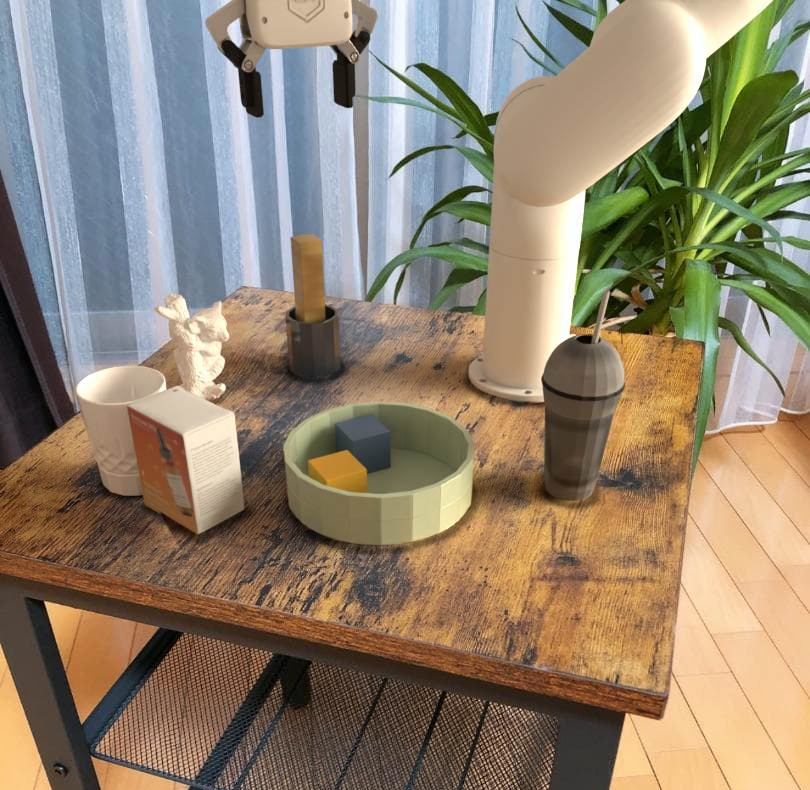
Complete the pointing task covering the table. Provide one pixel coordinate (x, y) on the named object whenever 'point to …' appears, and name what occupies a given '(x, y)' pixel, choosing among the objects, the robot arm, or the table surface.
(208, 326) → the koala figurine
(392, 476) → the bowl
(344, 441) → the blue block
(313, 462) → the mustard block
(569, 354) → the beverage cup
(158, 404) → the small box
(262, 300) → the table surface
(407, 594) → the table surface
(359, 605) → the table surface
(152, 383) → the white cup
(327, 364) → the utensil pot
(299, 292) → the tan wooden bar
